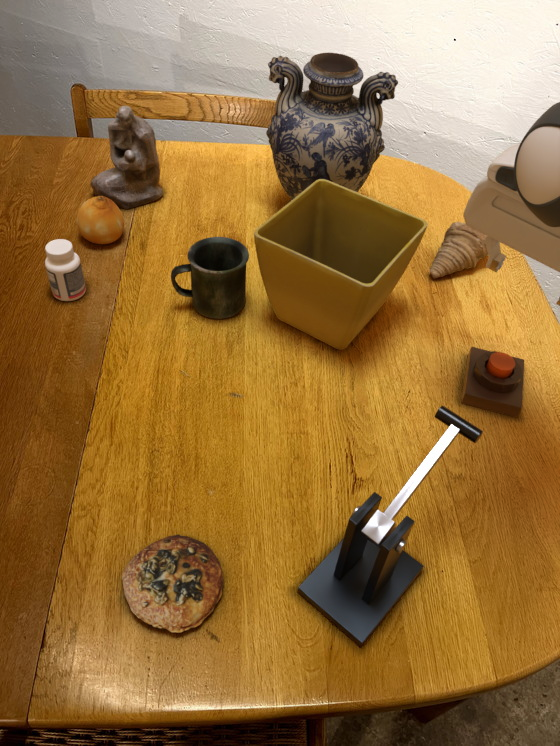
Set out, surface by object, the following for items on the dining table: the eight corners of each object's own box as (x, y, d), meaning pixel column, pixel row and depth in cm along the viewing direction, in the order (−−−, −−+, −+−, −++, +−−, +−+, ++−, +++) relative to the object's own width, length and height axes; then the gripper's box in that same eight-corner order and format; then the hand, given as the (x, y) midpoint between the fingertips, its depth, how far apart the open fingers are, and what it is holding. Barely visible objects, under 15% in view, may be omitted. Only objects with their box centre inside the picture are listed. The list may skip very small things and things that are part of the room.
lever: (442, 409, 71) (443, 401, 69) (482, 435, 69) (484, 427, 67) (351, 527, 68) (349, 522, 66) (391, 557, 66) (390, 553, 63)
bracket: (360, 523, 80) (380, 458, 70) (421, 570, 76) (452, 509, 66) (296, 591, 73) (308, 531, 63) (360, 647, 70) (383, 592, 59)
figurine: (89, 208, 121) (72, 114, 107) (98, 174, 128) (83, 83, 115) (161, 210, 122) (153, 118, 108) (165, 177, 129) (158, 86, 116)
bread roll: (219, 533, 77) (217, 517, 73) (228, 631, 71) (227, 619, 67) (124, 545, 76) (117, 530, 72) (125, 645, 70) (117, 635, 66)
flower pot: (407, 306, 108) (431, 220, 95) (351, 374, 96) (370, 287, 84) (309, 262, 114) (320, 176, 102) (247, 321, 103) (250, 233, 90)
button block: (516, 417, 93) (526, 399, 90) (461, 403, 94) (468, 384, 91) (519, 369, 99) (528, 351, 96) (467, 356, 101) (474, 337, 98)
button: (510, 381, 93) (514, 372, 91) (485, 374, 93) (488, 366, 92) (511, 363, 95) (515, 355, 94) (487, 357, 95) (490, 349, 94)
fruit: (140, 230, 113) (118, 186, 110) (102, 252, 109) (78, 208, 106) (120, 231, 119) (98, 190, 116) (83, 252, 116) (60, 211, 112)
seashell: (432, 295, 117) (470, 298, 111) (413, 263, 112) (453, 264, 106) (467, 241, 121) (506, 241, 115) (450, 208, 116) (490, 206, 110)
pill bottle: (89, 282, 107) (80, 237, 100) (82, 303, 103) (73, 258, 97) (56, 280, 106) (45, 235, 100) (48, 301, 103) (36, 256, 96)
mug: (252, 318, 103) (255, 269, 96) (177, 327, 101) (173, 278, 93) (241, 282, 109) (242, 233, 102) (169, 290, 106) (165, 241, 99)
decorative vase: (373, 193, 130) (401, 47, 110) (368, 247, 118) (399, 95, 97) (268, 178, 132) (276, 31, 111) (252, 231, 119) (258, 77, 98)
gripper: (683, 216, 66) (620, 315, 76) (503, 138, 74) (468, 237, 84) (663, 242, 62) (599, 343, 73) (476, 157, 70) (443, 259, 81)
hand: (527, 285), depth 78 cm, fingers open, 8 cm apart
